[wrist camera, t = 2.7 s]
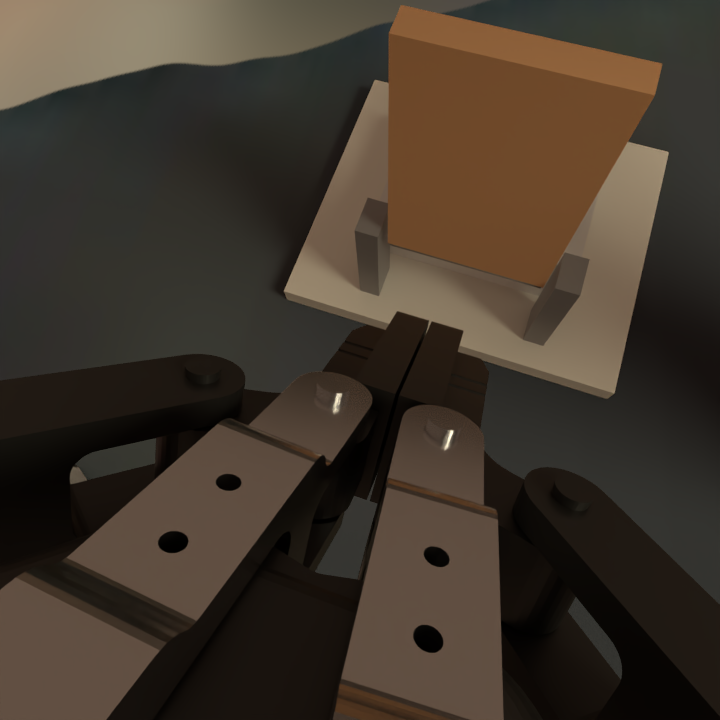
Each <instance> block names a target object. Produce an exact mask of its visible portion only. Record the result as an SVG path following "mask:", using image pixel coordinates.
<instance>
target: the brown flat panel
mask: <svg viewBox="0 0 720 720" xmlns="http://www.w3.org/2000/svg"><path fill="white" fill-rule="evenodd" d="M661 68H662V64H661V63H657V62H652V61H648V60H643V59H639V58H634V57H630V56H625V55H621V54H617V53H612V52H608V51H603V50H599V49H594V48H590V47H585V46H581V45H577V44H572V43H568V42H563V41H559V40H554V39H550V38H546V37H541V36H537V35H532V34H528V33H523V32H519V31H514V30H510V29H506V28H501V27H497V26H492V25H488V24H483V23H479V22H474V21H470V20H466V19H461V18H457V17H452V16H448V15H443V14H439V13H434V12H430V11H426V10H421V9H417V8H412V7H407V6H403V5H401V7H400V9H399V11H398V14H397V16H396V19H395V21H394V23H393V25H392V27H391V30H390V32H389V108H388V243H389V244H390V245H391V246H394V247H398V248H401V249H405V250H408V251H412V252H415V253H419V254H422V255H426V256H429V257H432V258H436V259H439V260H443V261H446V262H450V263H453V264H457V265H460V266H464V267H467V268H471V269H474V270H477V271H481V272H484V273H488V274H491V275H495V276H498V277H502V278H505V279H509V280H512V281H516V282H519V283H522V284H526V285H529V286H533V287H536V288H541V287H542V288H543V287H544V285H545V284H546V282H547V280H548V278H549V277H550V275H551V273H552V272H553V270H554V268H555V266H556V265H557V263H558V261H559V259H560V258H561V256H562V254H563V253H564V251H565V249H566V247H567V246H568V244H569V242H570V241H571V239H572V237H573V235H574V234H575V232H576V230H577V228H578V227H579V225H580V223H581V222H582V220H583V218H584V216H585V215H586V213H587V211H588V209H589V208H590V206H591V204H592V203H593V201H594V199H595V197H596V196H597V194H598V192H599V191H600V189H601V187H602V185H603V184H604V182H605V180H606V178H607V177H608V175H609V173H610V172H611V170H612V168H613V166H614V165H615V163H616V161H617V159H618V158H619V156H620V154H621V153H622V151H623V149H624V147H625V146H626V144H627V142H628V141H629V139H630V137H631V135H632V134H633V132H634V130H635V128H636V127H637V125H638V123H639V122H640V120H641V118H642V116H643V115H644V113H645V111H646V109H647V108H648V106H649V104H650V103H651V101H652V99H653V97H654V96H655V92H656V88H657V84H658V80H659V76H660V72H661Z"/></svg>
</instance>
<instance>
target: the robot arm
mask: <svg viewBox="0 0 720 720" xmlns="http://www.w3.org/2000/svg"><path fill="white" fill-rule="evenodd" d="M428 324H429V320H426V319H423V318H419V317H416V316H413V315H409V314H406V313H402V312H399V311H397V312H396V314H395V315H394V317H393V319H392V320H391V322H390V323H389V325H388V327H387V328H386V330H384V329H381V328H378V327H374V326H371V325H366V326H363V327H360V328H358V329H355V330H353V331H352V332H351V333H350V335H349V336H348V337H347V339H346V340H345V342H344V343H343V344H342V345H341V347H340V348H339V350H338V351H337V352H336V353H335V355H334V356H333V357H332V359H331V360H330V361H329V363H328V364H327V365H326V367H325V368H324V369H323V371H322V372H311V373H307V374H304V375H302V376H299V377H298V378H297V379H296V380H295V381H294V382H293V383H291V384H290V385H289V386H288V387H287V388H286V389H285V390H284V391H283V392H282V393H271V392H262V391H254V390H247V389H244V386H245V375H244V372H243V371H242V369H241V368H240V367H239V366H237V365H236V364H234V363H233V362H231V361H229V360H227V359H224V358H221V357H217V356H212V355H205V354H190V355H181V356H174V357H167V358H160V359H153V360H145V361H138V362H131V363H124V364H117V365H109V366H102V367H95V368H88V369H81V370H73V371H66V372H59V373H52V374H45V375H38V376H30V377H23V378H16V379H9V380H2V381H0V720H720V605H719V604H718V603H717V602H716V601H715V600H714V599H713V598H712V597H711V596H710V595H709V594H708V593H707V592H706V591H705V590H704V589H703V588H702V587H701V586H700V585H699V584H698V583H697V582H696V581H695V580H694V579H693V578H692V577H691V576H690V575H688V574H687V573H686V572H685V571H684V570H683V569H682V568H681V567H680V566H679V565H678V564H677V563H676V562H675V561H674V560H673V559H672V558H671V557H670V556H669V555H668V554H667V553H666V552H665V551H664V550H663V549H662V548H661V547H660V546H659V545H658V544H657V543H656V542H655V541H653V540H652V539H651V538H650V537H649V536H648V535H647V534H646V533H645V532H644V531H643V530H642V529H641V528H640V527H639V526H638V525H637V524H636V523H635V522H634V521H633V520H632V519H631V518H630V517H629V516H628V515H627V514H626V513H625V512H624V511H623V510H622V509H621V508H619V507H618V506H617V505H616V504H615V503H614V502H613V501H612V500H611V499H610V498H609V497H608V496H607V495H606V494H605V493H604V492H603V491H602V490H601V489H599V488H598V487H597V486H596V485H594V484H593V483H591V482H590V481H588V480H586V479H585V478H583V477H581V476H579V475H577V474H574V473H572V472H569V471H566V470H562V469H557V468H549V467H545V468H538V469H534V470H532V471H531V472H529V473H528V474H527V476H526V477H525V480H524V479H522V478H520V477H518V476H516V475H515V474H513V473H511V472H509V471H508V470H506V469H504V468H503V467H501V466H500V465H498V464H497V463H496V462H495V461H494V460H492V459H491V458H490V457H489V456H488V454H487V453H486V452H485V451H484V436H483V434H482V431H481V430H480V426H481V420H482V413H483V407H484V401H485V394H486V388H487V387H486V386H487V382H488V375H489V371H488V370H487V368H486V366H485V365H484V363H483V361H482V360H481V359H480V358H477V357H474V356H470V355H467V354H464V353H460V352H458V349H459V345H460V342H461V338H462V335H463V332H464V331H463V330H460V329H457V328H453V327H450V326H446V325H443V324H440V323H436V322H433V321H432V322H431V324H430V326H429V328H428ZM427 328H428V331H427ZM426 332H427V333H426ZM153 438H156V454H155V464H151V465H147V466H143V467H139V468H135V469H131V470H127V471H123V472H119V473H115V474H111V475H107V476H103V477H99V478H95V479H91V480H87V481H83V482H78V483H74V484H70V473H71V470H72V468H73V466H74V465H75V464H76V462H78V461H79V460H80V459H81V458H82V457H84V456H85V455H87V454H89V453H92V452H95V451H99V450H103V449H108V448H112V447H117V446H121V445H126V444H131V443H135V442H140V441H144V440H149V439H153ZM377 473H378V474H377ZM376 475H377V477H376ZM375 478H376V481H375V485H374V488H373V492H372V495H371V499H370V501H372V502H375V503H377V508H376V511H375V515H374V518H373V522H372V525H371V529H370V532H369V536H368V540H367V543H366V547H365V551H364V555H363V559H362V563H361V567H360V571H359V575H358V579H357V580H356V579H350V578H343V577H336V576H330V575H323V574H319V573H316V572H315V570H316V569H317V567H318V565H319V563H320V562H321V560H322V558H323V556H324V555H325V553H326V551H327V549H328V548H329V546H330V544H331V542H332V541H333V539H334V537H335V535H336V534H337V532H338V530H339V528H340V526H341V524H342V520H343V516H344V512H345V511H346V509H347V508H348V507H349V505H350V503H351V501H352V499H353V496H357V497H360V498H363V499H365V500H367V497H368V495H369V492H370V490H371V487H372V485H373V483H374V480H375ZM575 597H577V598H578V600H579V601H580V602H581V603H582V605H583V606H584V607H585V608H586V610H587V611H588V612H589V613H590V615H591V616H592V617H593V618H594V619H595V621H596V622H597V623H598V624H599V626H600V627H601V628H602V629H603V631H604V632H605V633H606V634H607V636H608V637H609V638H610V639H611V641H612V642H613V644H614V645H615V647H616V649H617V651H618V653H619V656H620V659H621V663H622V678H621V680H620V678H619V677H618V676H617V674H616V673H615V672H614V671H613V669H612V668H611V667H610V665H609V664H608V663H607V662H606V660H605V659H604V658H603V656H602V655H601V654H600V653H599V651H598V650H597V649H596V647H595V646H594V645H593V644H592V642H591V641H590V640H589V638H588V637H587V636H586V635H585V633H584V632H583V631H582V629H581V628H580V627H579V625H578V624H577V623H576V622H575V620H574V619H573V618H572V616H571V615H570V614H569V613H568V610H569V608H570V606H571V604H572V603H573V601H574V599H575Z"/></svg>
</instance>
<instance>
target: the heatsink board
mask: <svg viewBox="0 0 720 720" xmlns="http://www.w3.org/2000/svg"><path fill="white" fill-rule="evenodd" d="M388 108H389V83H386V82H382V81H378V80H375V81H374V83H373V85H372V88H371V90H370V92H369V94H368V97H367V99H366V101H365V104H364V106H363V108H362V111H361V113H360V115H359V118H358V120H357V122H356V125H355V127H354V129H353V132H352V134H351V136H350V139H349V141H348V143H347V146H346V148H345V150H344V153H343V155H342V157H341V160H340V162H339V164H338V166H337V169H336V171H335V173H334V176H333V178H332V180H331V183H330V185H329V187H328V190H327V192H326V194H325V197H324V199H323V201H322V204H321V206H320V208H319V211H318V213H317V215H316V218H315V220H314V222H313V225H312V227H311V229H310V231H309V234H308V236H307V238H306V241H305V243H304V245H303V248H302V250H301V252H300V255H299V257H298V259H297V262H296V264H295V266H294V269H293V271H292V273H291V276H290V278H289V280H288V283H287V285H286V287H285V290H284V293H285V296H286V298H287V300H290V301H294V302H297V303H300V304H303V305H306V306H310V307H313V308H316V309H319V310H322V311H326V312H329V313H332V314H335V315H339V316H342V317H345V318H348V319H351V320H355V321H358V322H361V323H364V324H367V325H371V326H374V327H378V328H381V329H384V330H386V328H387V327H388V325H389V323H390V322H391V320H392V319H393V317H394V315H395V314H396V312H397V311H399V312H402V313H406V314H409V315H413V316H416V317H419V318H423V319H426V320H429V324H428V328H429V326H430V324H431V322H432V321H433V322H436V323H440V324H443V325H446V326H450V327H453V328H457V329H460V330H463V331H464V332H463V335H462V338H461V342H460V345H459V349H458V352H460V353H464V354H467V355H470V356H474V357H477V358H480V359H481V360H483V361H486V362H489V363H493V364H496V365H499V366H502V367H505V368H509V369H512V370H515V371H518V372H521V373H525V374H528V375H531V376H534V377H538V378H541V379H544V380H547V381H550V382H554V383H557V384H560V385H563V386H566V387H570V388H573V389H576V390H579V391H582V392H586V393H589V394H592V395H595V396H599V397H602V398H605V399H608V398H609V397H610V396H612V395H613V394H614V393H615V389H616V384H617V380H618V376H619V371H620V367H621V362H622V358H623V353H624V349H625V344H626V340H627V336H628V331H629V327H630V322H631V318H632V313H633V309H634V305H635V300H636V296H637V291H638V287H639V282H640V278H641V273H642V269H643V265H644V260H645V256H646V251H647V247H648V242H649V238H650V234H651V229H652V225H653V220H654V216H655V211H656V207H657V202H658V198H659V194H660V189H661V185H662V180H663V176H664V171H665V167H666V163H667V158H668V154H669V152H666V151H662V150H658V149H654V148H650V147H646V146H642V145H638V144H634V143H630V142H627V144H626V146H625V147H624V149H623V151H622V153H621V154H620V156H619V158H618V159H617V161H616V163H615V165H614V166H613V168H612V170H611V172H610V173H609V175H608V177H607V178H606V180H605V182H604V184H603V185H602V187H601V189H600V191H599V192H598V194H597V196H596V197H595V199H594V201H593V203H592V204H591V206H590V208H589V209H588V211H587V213H586V215H585V216H584V218H583V220H582V222H581V223H580V225H579V227H578V228H577V230H576V232H575V234H574V235H573V237H572V239H571V241H570V242H569V244H568V246H567V247H566V249H565V251H564V253H563V254H562V256H561V258H560V259H559V261H558V263H557V265H556V266H555V268H554V270H553V272H552V273H551V275H550V277H549V278H548V280H547V282H546V284H545V285H544V287H543V288H542V287H541V288H536V287H533V286H529V285H526V284H522V283H519V282H516V281H512V280H509V279H505V278H502V277H498V276H495V275H491V274H488V273H484V272H481V271H477V270H474V269H471V268H467V267H464V266H460V265H457V264H453V263H450V262H446V261H443V260H439V259H436V258H432V257H429V256H426V255H422V254H419V253H415V252H412V251H408V250H405V249H401V248H398V247H394V246H391V245H390V244H389V243H388ZM428 328H427V331H428ZM426 333H427V332H426Z"/></svg>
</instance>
